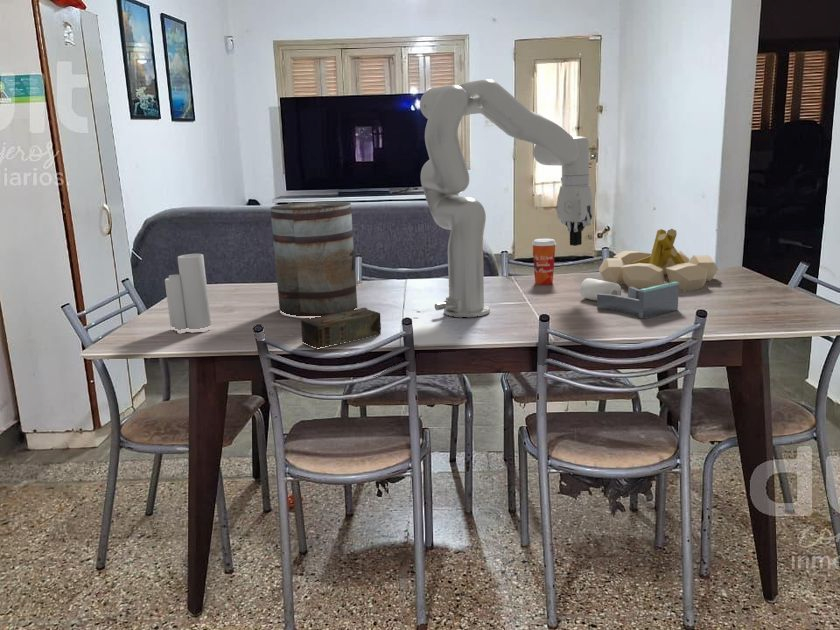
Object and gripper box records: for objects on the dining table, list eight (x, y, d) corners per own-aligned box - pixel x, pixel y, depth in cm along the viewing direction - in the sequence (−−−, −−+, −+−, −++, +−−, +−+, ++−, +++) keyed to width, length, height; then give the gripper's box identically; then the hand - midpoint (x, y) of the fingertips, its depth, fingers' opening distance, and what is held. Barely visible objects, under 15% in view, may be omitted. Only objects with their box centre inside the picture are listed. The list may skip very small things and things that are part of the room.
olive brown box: (383, 335, 180) (381, 309, 179) (317, 352, 169) (315, 325, 167) (364, 329, 186) (363, 304, 185) (300, 345, 175) (298, 319, 173)
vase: (215, 326, 195) (207, 253, 190) (205, 333, 188) (196, 258, 183) (175, 327, 196) (165, 254, 191) (163, 334, 189) (153, 259, 184)
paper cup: (529, 285, 230) (529, 241, 226) (534, 280, 237) (533, 238, 233) (554, 285, 227) (554, 241, 224) (557, 281, 234) (558, 238, 231)
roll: (620, 304, 203) (623, 283, 202) (605, 304, 200) (608, 282, 199) (592, 298, 211) (595, 278, 210) (578, 298, 208) (581, 277, 207)
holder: (642, 319, 185) (643, 290, 183) (595, 308, 197) (596, 281, 196) (677, 310, 192) (679, 282, 190) (630, 300, 205) (631, 273, 203)
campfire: (700, 297, 206) (703, 238, 202) (586, 288, 224) (587, 233, 220) (724, 275, 234) (727, 222, 230) (621, 268, 252) (622, 219, 248)
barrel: (369, 301, 217) (363, 201, 209) (338, 320, 196) (330, 209, 189) (301, 299, 224) (293, 201, 216) (265, 317, 203) (255, 210, 196)
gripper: (547, 181, 210) (548, 244, 214) (585, 183, 197) (585, 249, 202) (566, 179, 213) (566, 240, 218) (604, 180, 201) (604, 245, 206)
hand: (575, 244), depth 210 cm, fingers closed
